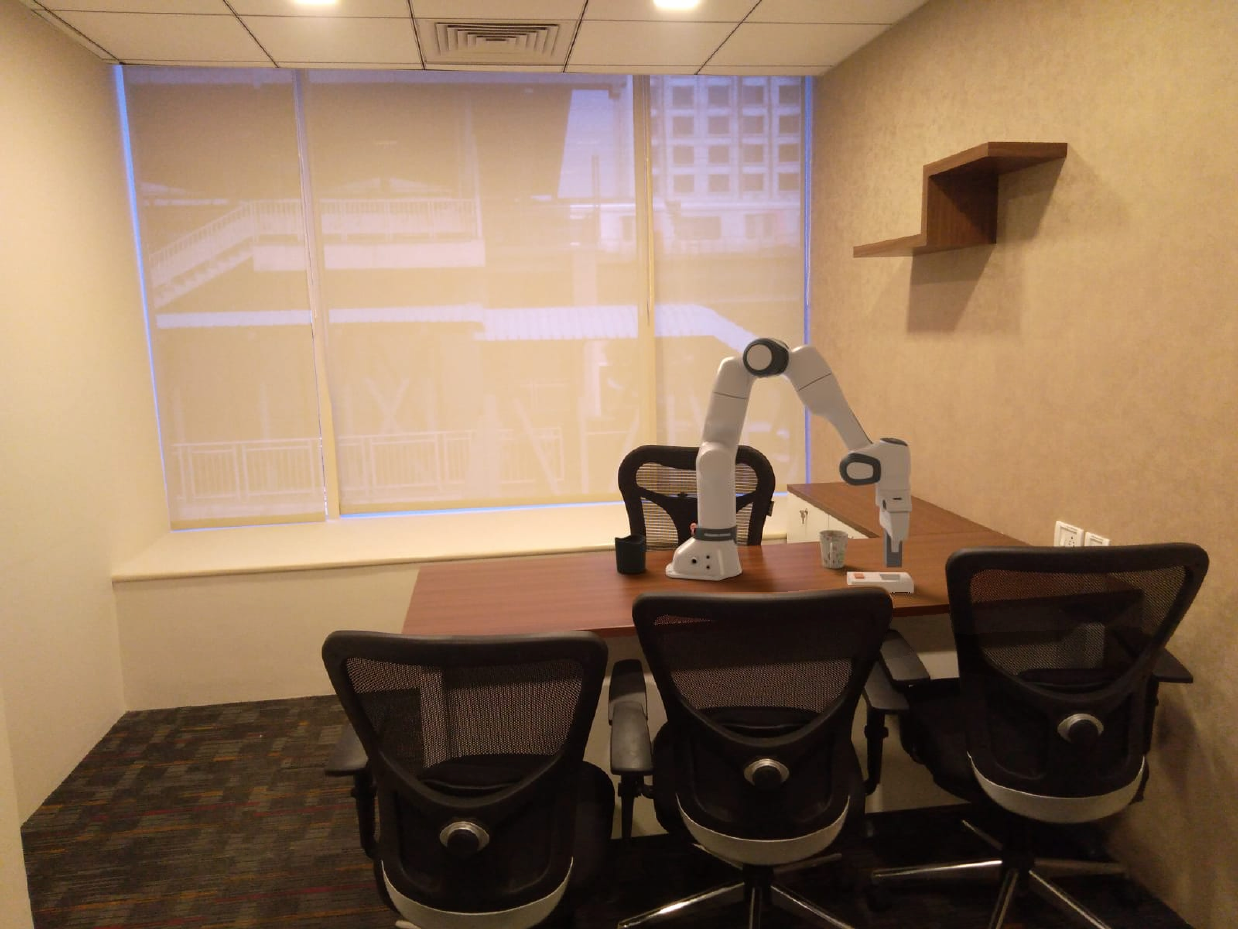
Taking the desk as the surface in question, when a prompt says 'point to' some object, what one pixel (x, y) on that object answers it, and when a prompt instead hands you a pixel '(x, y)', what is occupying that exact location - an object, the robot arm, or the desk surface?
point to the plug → (891, 553)
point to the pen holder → (630, 554)
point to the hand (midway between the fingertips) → (892, 549)
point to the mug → (833, 548)
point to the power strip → (883, 580)
